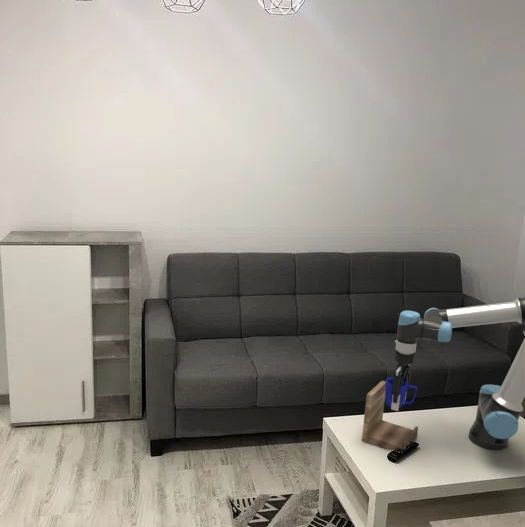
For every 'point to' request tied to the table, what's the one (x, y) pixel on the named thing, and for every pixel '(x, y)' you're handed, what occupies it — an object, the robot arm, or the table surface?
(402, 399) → the mug
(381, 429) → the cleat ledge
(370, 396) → the wall board
